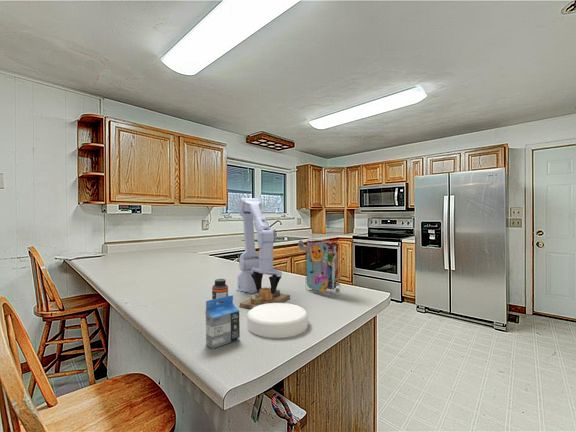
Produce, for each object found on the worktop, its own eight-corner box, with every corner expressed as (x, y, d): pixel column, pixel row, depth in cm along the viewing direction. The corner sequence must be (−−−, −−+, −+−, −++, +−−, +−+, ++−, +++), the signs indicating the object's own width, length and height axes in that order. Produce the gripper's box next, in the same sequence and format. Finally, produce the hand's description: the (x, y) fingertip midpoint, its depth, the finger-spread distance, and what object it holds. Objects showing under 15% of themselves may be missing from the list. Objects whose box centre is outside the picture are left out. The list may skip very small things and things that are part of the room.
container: (234, 325, 94) (234, 311, 94) (279, 310, 108) (279, 298, 108) (275, 345, 80) (275, 328, 80) (320, 325, 94) (320, 311, 94)
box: (293, 287, 142) (293, 238, 142) (302, 285, 146) (302, 237, 146) (330, 299, 123) (331, 242, 122) (340, 296, 127) (340, 241, 126)
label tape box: (212, 349, 76) (212, 304, 76) (205, 344, 79) (205, 300, 79) (240, 340, 82) (240, 297, 82) (232, 335, 85) (232, 294, 85)
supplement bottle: (211, 307, 111) (211, 278, 111) (226, 305, 113) (226, 277, 113) (212, 312, 105) (213, 282, 105) (229, 310, 107) (229, 280, 107)
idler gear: (256, 299, 117) (256, 289, 117) (265, 296, 121) (265, 286, 121) (267, 301, 114) (267, 291, 114) (275, 298, 118) (275, 288, 118)
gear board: (239, 306, 112) (239, 294, 112) (269, 294, 129) (269, 283, 129) (262, 311, 106) (262, 298, 106) (289, 298, 123) (289, 286, 123)
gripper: (286, 259, 116) (285, 292, 117) (258, 256, 125) (258, 287, 125) (275, 261, 111) (275, 296, 111) (247, 258, 119) (247, 290, 119)
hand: (265, 291), depth 117 cm, fingers open, 7 cm apart
